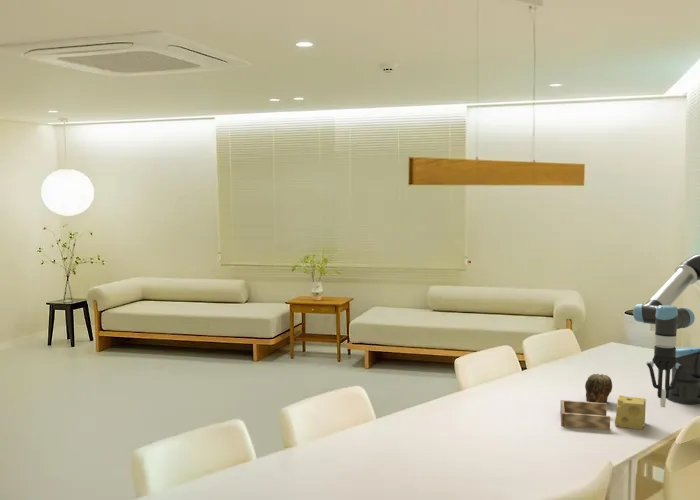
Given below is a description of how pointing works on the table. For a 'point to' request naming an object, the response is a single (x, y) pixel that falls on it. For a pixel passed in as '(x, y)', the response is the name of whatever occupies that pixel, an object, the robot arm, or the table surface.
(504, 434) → the table surface
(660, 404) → the robot arm
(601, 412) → the corral
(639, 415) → the cheese
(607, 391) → the shell
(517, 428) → the table surface
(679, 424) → the table surface
